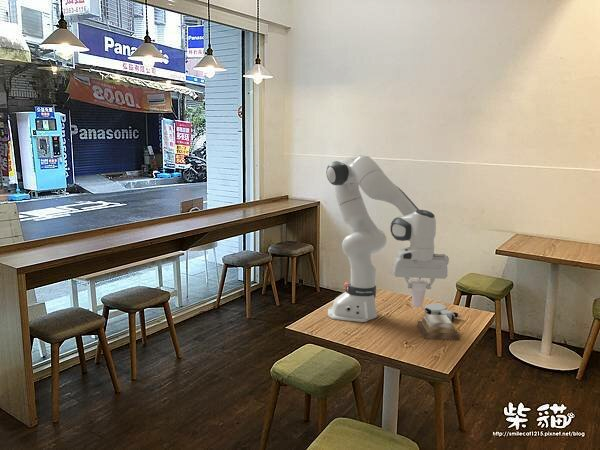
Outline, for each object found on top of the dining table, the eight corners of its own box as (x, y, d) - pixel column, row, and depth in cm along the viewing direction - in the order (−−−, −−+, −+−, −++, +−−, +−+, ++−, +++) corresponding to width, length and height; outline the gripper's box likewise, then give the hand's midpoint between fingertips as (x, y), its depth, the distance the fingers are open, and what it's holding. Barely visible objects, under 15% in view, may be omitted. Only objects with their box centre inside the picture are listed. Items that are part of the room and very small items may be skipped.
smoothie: (428, 305, 191) (431, 270, 189) (421, 309, 186) (424, 273, 184) (413, 301, 195) (415, 267, 193) (405, 305, 190) (408, 270, 188)
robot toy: (462, 322, 222) (437, 309, 234) (464, 312, 221) (438, 300, 233) (443, 327, 215) (418, 313, 228) (444, 317, 214) (419, 304, 227)
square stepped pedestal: (424, 338, 200) (425, 324, 199) (417, 325, 214) (418, 312, 213) (459, 339, 200) (460, 325, 199) (449, 326, 214) (450, 313, 213)
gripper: (447, 252, 190) (443, 286, 192) (393, 250, 190) (391, 284, 193) (451, 256, 184) (448, 292, 186) (396, 254, 184) (393, 289, 187)
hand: (418, 288), depth 190 cm, fingers closed on smoothie, 6 cm apart
